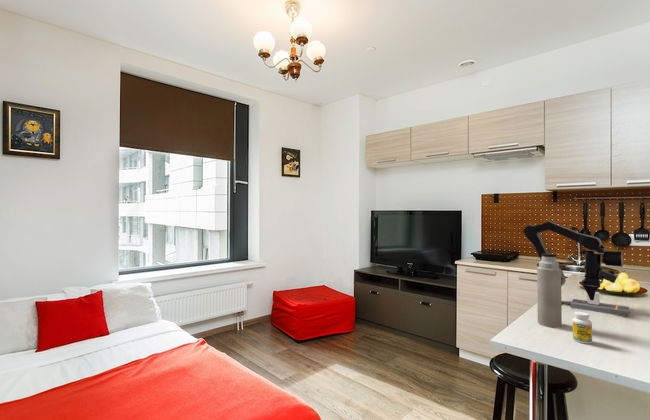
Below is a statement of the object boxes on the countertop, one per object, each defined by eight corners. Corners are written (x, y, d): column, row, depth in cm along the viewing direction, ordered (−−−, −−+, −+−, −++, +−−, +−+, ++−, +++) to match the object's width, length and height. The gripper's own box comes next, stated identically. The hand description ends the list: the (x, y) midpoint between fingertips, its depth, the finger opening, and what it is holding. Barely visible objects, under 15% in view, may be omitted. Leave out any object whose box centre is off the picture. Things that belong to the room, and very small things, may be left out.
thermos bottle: (539, 319, 139) (539, 252, 139) (563, 323, 133) (562, 253, 133) (535, 324, 133) (534, 254, 133) (559, 329, 127) (559, 255, 128)
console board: (570, 307, 155) (570, 302, 155) (573, 303, 163) (573, 298, 163) (628, 316, 142) (628, 311, 142) (629, 311, 149) (629, 306, 149)
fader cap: (587, 303, 153) (587, 292, 153) (588, 301, 156) (588, 290, 156) (598, 305, 151) (598, 293, 151) (599, 303, 154) (599, 291, 154)
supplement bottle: (588, 339, 117) (588, 312, 117) (594, 345, 112) (594, 316, 112) (570, 337, 119) (570, 310, 119) (575, 342, 114) (575, 314, 114)
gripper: (614, 268, 141) (615, 305, 141) (617, 263, 155) (617, 297, 155) (581, 266, 149) (582, 301, 149) (587, 261, 162) (587, 293, 162)
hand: (593, 298), depth 154 cm, fingers open, 9 cm apart
